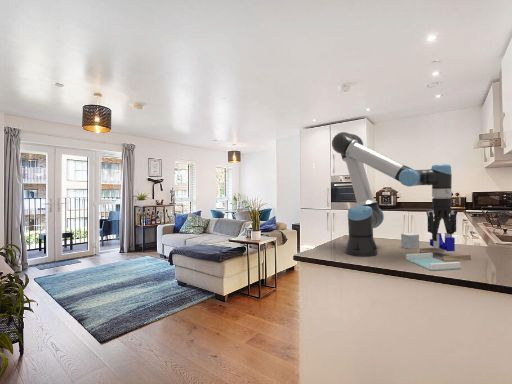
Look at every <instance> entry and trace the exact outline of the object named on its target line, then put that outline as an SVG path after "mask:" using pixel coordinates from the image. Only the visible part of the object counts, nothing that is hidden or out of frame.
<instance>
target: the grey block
mask: <svg viewBox="0 0 512 384" xmlns="http://www.w3.org/2000/svg"><path fill="white" fill-rule="evenodd" d="M400 235H401V236H400V237H401V239H400V241H401V242H400V243H401V248H404V249H409V250H414V249H420V235H419V234H417V233H412V232H406V233H401V234H400Z"/></svg>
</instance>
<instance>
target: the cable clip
mask: <svg viewBox="0 0 512 384" xmlns="http://www.w3.org/2000/svg"><path fill="white" fill-rule="evenodd" d="M437 234H439V248H441V249H443V250H445V251H446V252H456V246H455V245H456V244H455V243H456V241H455V237H453V236H452V237H445V236H444V240H443V236H442V233H441V232H438V233H437ZM429 246H431V247H432V248H433V247H434V241H433V240H432V238H430V239H429Z"/></svg>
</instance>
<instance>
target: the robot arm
mask: <svg viewBox="0 0 512 384" xmlns="http://www.w3.org/2000/svg"><path fill="white" fill-rule="evenodd" d="M331 147H332V149H333V151H335V152H336V153H338V154H340V156H341V159H342V161H343V162H345V163H346V166H347V170H348V174H349V177H350V181H351V186H352V190H353V193H354V196H355V200H356V204H355V206H352V207H349V209H348V210H347V225H348V226H347V227H348V239H347V243H346V246H345V253H346V254H347V255H350V256H356V257H372V256H376V255H378V246H377V244H376V242H375V238H374V229H376V228H377V227H379V226H380V225H381V224H383V222H384V219H385V217H384V215H385V214H384V212H383V210H382V209H381V208H380V207H379V202H378V201H377V200H375V199H374V196H373V194H372V193H373V192H372V191H371V190H372V189H371V187H370V183H369V180H368V176H367V172H366V168H365V165H367V166H368V167H371V169H372V168H373V169H375V170H376V171H378V172H381V173H382V174H384V175H386V176H388V177H390V178H392V179H394V180H396V181H398V182H399V183H400V184H401V185H403V186H406V187H414V186H415V187H416V186H431V197H432V199H431V205H432V206H431V207H432V209H431V210H428V211H426V216H427V232H428V233H430V234H431V239H432V240H433V241H434V247H435V248H439V234H437V233H439V229H440V224H441V221H442V220H443V223H444V228H445V232H444V238H445V237H453V235H454V234H455V233H457V215H458V211H457V210H453V209H452V208H451V207H452V205H453V203H452V202H453V200H452V198H451V197H452V192H453V191H452V181H453V180H452V175H453V174H452V165H450V164H446V163H445V164H443V163H442V164H433V165H432V166H431V168H430V169H413V168H411V167H410V166H407V165H405V164H403V163H400V162H398V161H396V160H394V159H392V158H391V157H388V156H386V155H384V154H383V153H380V152H378V151H375V150H374V149H371V148H369V147H367V146H365V145H364V142H363V139H362V138H361V137H360V136H358V135H356V134H354V133H348V132H339V133H336V135H334V136H333V138H332V141H331Z"/></svg>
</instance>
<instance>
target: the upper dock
mask: <svg viewBox="0 0 512 384" xmlns="http://www.w3.org/2000/svg"><path fill="white" fill-rule="evenodd" d="M445 251H446V250H443V249H441V248H435V247H433V246H432V247H419V253H440V252H443V253H444V252H445ZM471 256H472V255H471V254H469V253H467V254H454V255H443V256H442V261H443V262H451V261H452V262H456V261H467V260H468V261H470V260H472V257H471Z"/></svg>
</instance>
